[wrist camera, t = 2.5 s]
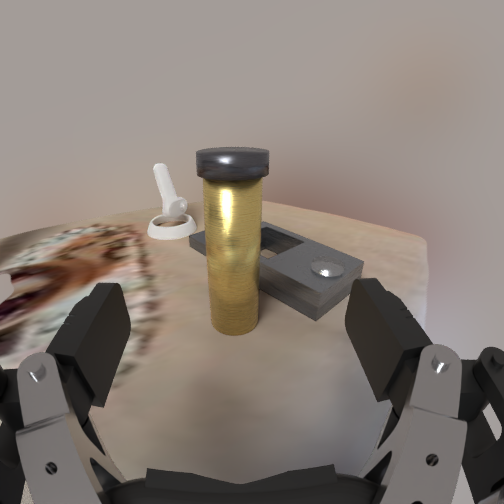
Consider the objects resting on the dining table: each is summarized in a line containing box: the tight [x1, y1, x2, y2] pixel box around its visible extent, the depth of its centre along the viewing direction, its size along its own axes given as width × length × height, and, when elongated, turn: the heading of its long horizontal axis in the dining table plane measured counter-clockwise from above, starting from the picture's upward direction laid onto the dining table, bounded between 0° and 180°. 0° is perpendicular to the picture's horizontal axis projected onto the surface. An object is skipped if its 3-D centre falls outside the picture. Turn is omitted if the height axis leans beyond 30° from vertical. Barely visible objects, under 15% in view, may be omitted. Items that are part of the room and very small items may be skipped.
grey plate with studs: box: [189, 221, 364, 321], centre depth 32 cm, size 20×8×3 cm, turn 43°
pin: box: [196, 147, 269, 335], centre depth 21 cm, size 5×5×14 cm
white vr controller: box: [147, 163, 197, 240], centre depth 42 cm, size 8×12×7 cm
